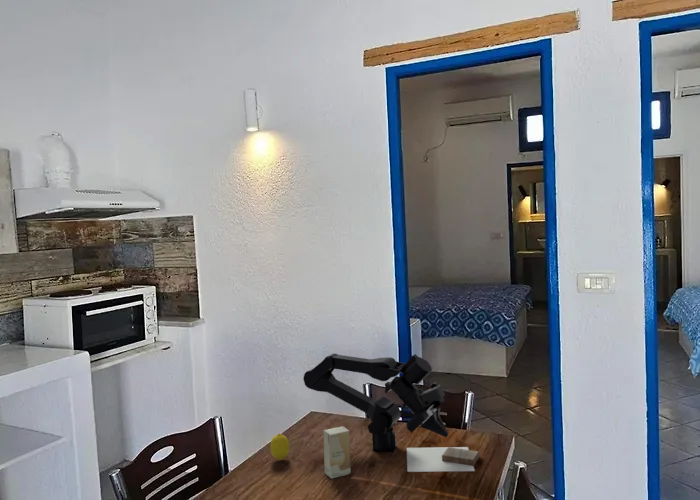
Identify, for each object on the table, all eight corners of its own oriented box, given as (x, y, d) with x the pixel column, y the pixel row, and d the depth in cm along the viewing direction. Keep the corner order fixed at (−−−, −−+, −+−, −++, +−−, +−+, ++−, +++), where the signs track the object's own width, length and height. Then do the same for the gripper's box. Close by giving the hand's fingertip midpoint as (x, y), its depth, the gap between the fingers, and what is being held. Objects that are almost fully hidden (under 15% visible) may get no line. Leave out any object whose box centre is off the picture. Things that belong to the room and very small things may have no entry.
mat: (407, 473, 155) (407, 471, 155) (406, 449, 170) (406, 447, 170) (475, 473, 153) (474, 470, 153) (467, 449, 169) (467, 447, 169)
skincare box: (331, 479, 153) (328, 435, 153) (324, 473, 157) (322, 430, 157) (352, 473, 156) (350, 429, 156) (345, 467, 160) (342, 425, 160)
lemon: (293, 457, 169) (292, 431, 168) (283, 465, 164) (282, 438, 163) (277, 455, 171) (276, 429, 171) (267, 463, 166) (265, 436, 166)
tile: (441, 454, 160) (473, 459, 156) (448, 446, 165) (479, 451, 161) (442, 461, 160) (473, 466, 156) (448, 452, 165) (479, 457, 161)
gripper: (415, 385, 155) (456, 429, 151) (436, 367, 172) (474, 407, 167) (389, 410, 159) (429, 454, 155) (413, 391, 176) (449, 430, 171)
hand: (447, 435), depth 162 cm, fingers closed
